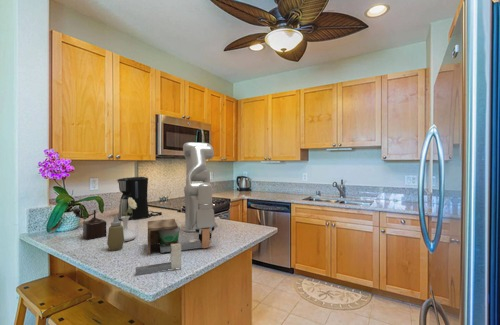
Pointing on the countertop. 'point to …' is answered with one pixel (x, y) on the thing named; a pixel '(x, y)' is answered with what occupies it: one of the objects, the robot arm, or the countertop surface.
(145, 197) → the coffee maker
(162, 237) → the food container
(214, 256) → the countertop surface
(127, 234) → the flower in vase
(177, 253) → the l-shaped tool
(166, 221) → the walnut cubby
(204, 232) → the crook tool
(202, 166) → the robot arm
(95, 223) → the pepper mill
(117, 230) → the squeeze bottle
